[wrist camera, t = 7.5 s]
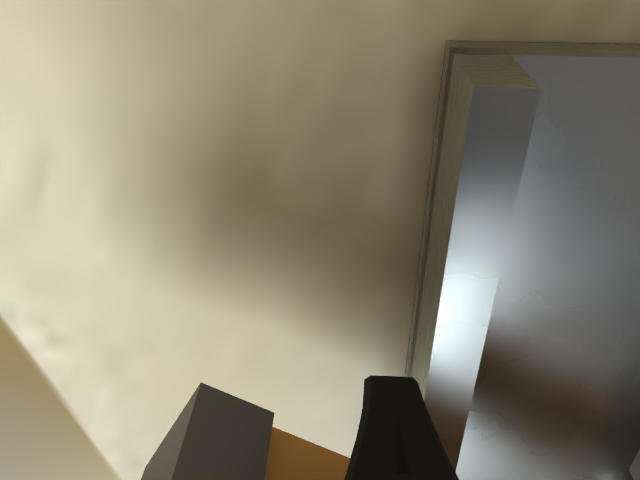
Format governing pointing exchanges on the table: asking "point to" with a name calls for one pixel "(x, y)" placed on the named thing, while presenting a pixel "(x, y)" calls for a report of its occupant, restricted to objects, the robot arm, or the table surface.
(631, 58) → the tray
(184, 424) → the swing bar
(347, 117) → the table surface
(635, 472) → the block
